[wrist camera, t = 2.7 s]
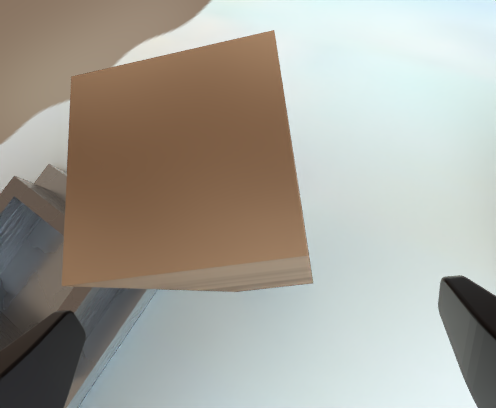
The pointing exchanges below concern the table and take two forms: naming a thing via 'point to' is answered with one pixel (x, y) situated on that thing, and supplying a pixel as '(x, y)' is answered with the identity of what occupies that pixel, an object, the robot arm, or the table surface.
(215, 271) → the walnut post
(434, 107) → the table surface
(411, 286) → the table surface
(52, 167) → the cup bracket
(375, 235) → the table surface
